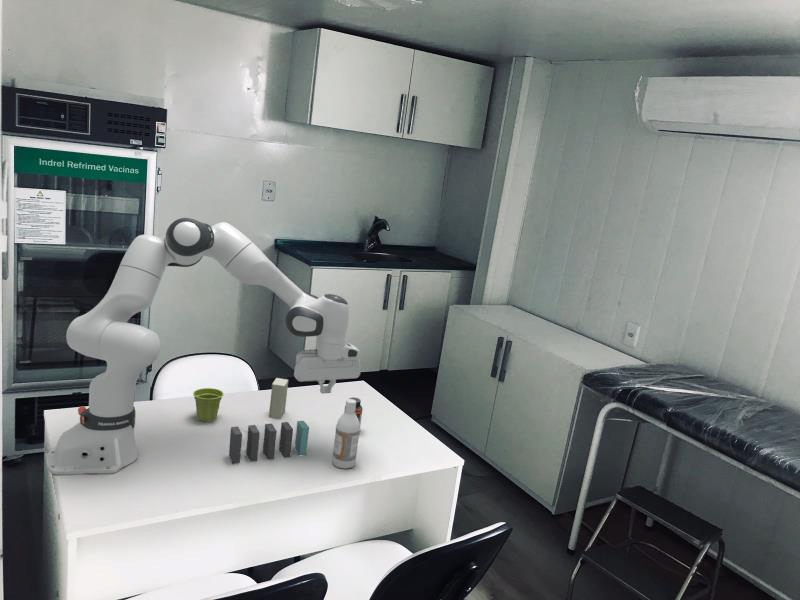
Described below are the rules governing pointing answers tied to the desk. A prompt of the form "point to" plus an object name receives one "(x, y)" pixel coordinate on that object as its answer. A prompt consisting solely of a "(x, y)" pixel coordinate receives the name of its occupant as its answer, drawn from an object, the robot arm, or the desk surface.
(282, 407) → the skincare box
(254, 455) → the domino
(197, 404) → the plant pot
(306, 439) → the domino
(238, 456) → the domino
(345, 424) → the bath foam
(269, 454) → the domino
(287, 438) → the domino
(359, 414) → the supplement bottle
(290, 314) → the robot arm
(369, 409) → the desk surface
